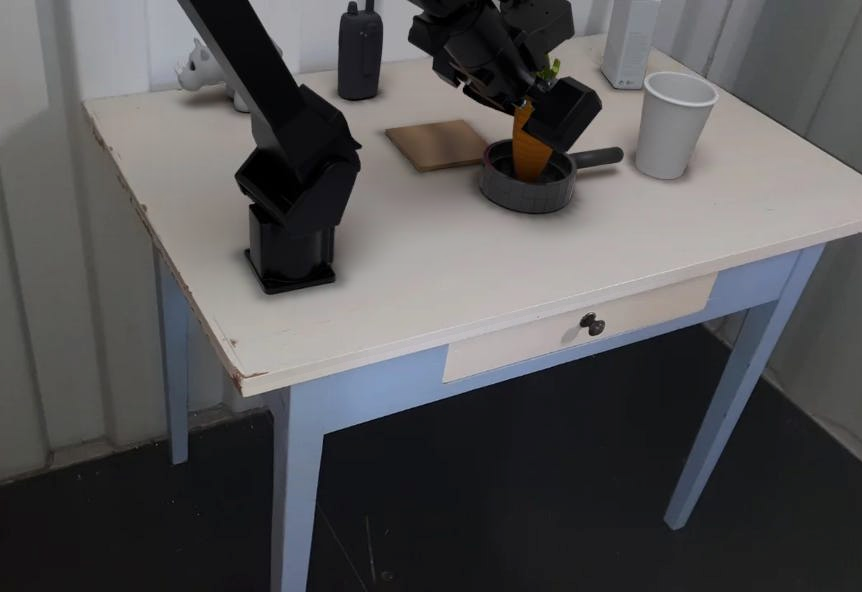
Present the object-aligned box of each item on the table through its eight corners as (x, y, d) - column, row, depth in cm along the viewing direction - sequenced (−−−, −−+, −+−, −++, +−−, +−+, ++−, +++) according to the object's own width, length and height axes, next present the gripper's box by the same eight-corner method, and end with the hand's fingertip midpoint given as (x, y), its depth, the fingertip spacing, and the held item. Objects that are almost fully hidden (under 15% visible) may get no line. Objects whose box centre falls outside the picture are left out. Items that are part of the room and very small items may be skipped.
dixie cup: (640, 142, 112) (661, 64, 106) (704, 166, 109) (729, 87, 103) (612, 167, 106) (632, 85, 100) (679, 193, 103) (704, 111, 97)
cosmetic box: (642, 90, 125) (665, 1, 117) (611, 89, 123) (633, -1, 116) (627, 70, 129) (648, -17, 122) (597, 69, 128) (616, -19, 120)
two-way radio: (370, 85, 114) (378, -38, 105) (389, 100, 112) (399, -25, 102) (331, 92, 111) (335, -35, 102) (349, 107, 109) (355, -21, 100)
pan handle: (567, 174, 100) (570, 159, 99) (558, 166, 101) (561, 151, 100) (625, 164, 103) (628, 150, 102) (615, 157, 104) (619, 142, 103)
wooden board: (419, 172, 99) (419, 167, 99) (384, 133, 105) (385, 128, 105) (499, 160, 104) (499, 155, 103) (461, 123, 110) (462, 119, 109)
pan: (508, 221, 94) (513, 191, 92) (462, 173, 100) (466, 144, 98) (588, 206, 98) (595, 177, 96) (539, 161, 105) (545, 133, 103)
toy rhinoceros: (169, 94, 106) (163, 21, 100) (272, 86, 111) (271, 16, 105) (184, 122, 101) (178, 47, 96) (291, 113, 106) (291, 41, 101)
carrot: (543, 203, 97) (571, 68, 88) (497, 193, 97) (520, 57, 88) (550, 182, 101) (578, 50, 92) (506, 172, 101) (529, 39, 92)
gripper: (611, 5, 77) (661, 103, 90) (469, -64, 87) (532, 33, 100) (528, 109, 78) (590, 192, 91) (395, 29, 88) (469, 113, 101)
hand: (545, 127), depth 96 cm, fingers closed on carrot, 5 cm apart
